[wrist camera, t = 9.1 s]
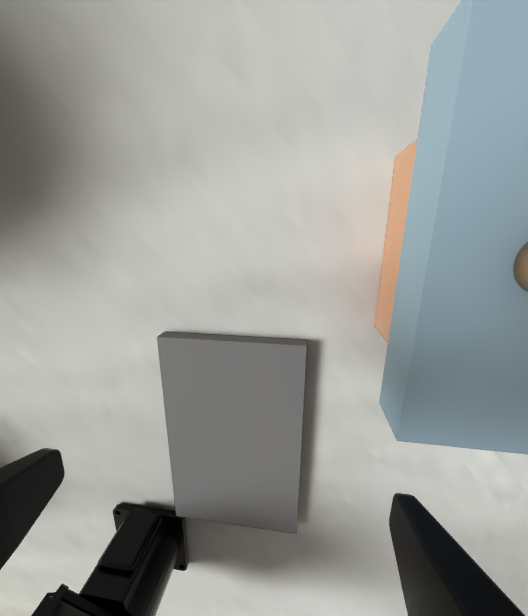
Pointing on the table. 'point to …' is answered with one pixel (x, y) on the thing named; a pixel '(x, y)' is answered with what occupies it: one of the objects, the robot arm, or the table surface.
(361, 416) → the table surface
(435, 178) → the lid
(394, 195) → the orange open box
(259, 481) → the mat
